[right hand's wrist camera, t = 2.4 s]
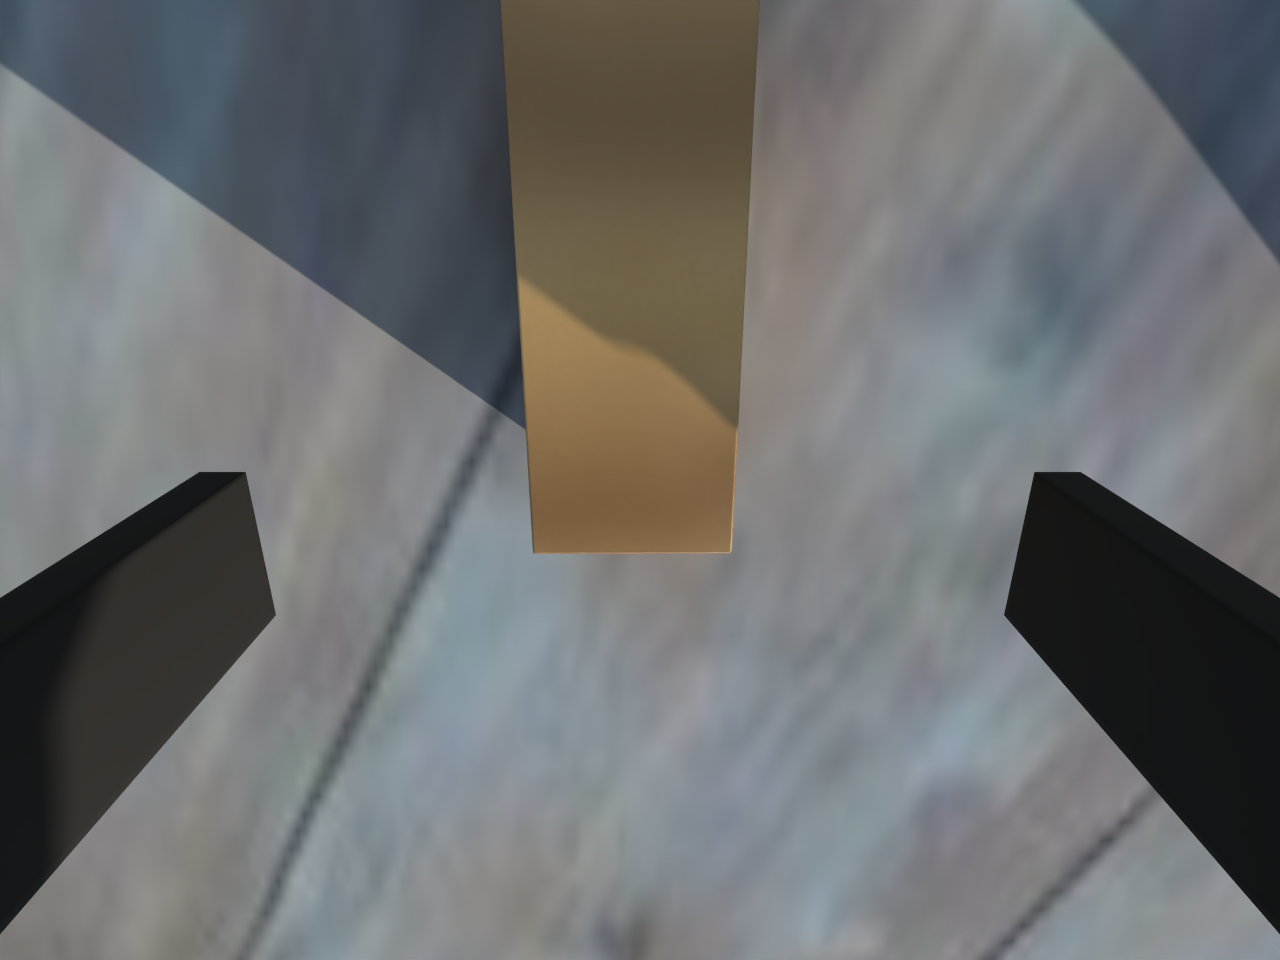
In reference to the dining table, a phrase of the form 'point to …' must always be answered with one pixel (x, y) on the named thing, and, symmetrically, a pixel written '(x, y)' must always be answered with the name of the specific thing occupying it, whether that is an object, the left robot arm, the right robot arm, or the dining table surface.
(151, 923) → the dining table surface
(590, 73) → the bar
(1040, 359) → the dining table surface
